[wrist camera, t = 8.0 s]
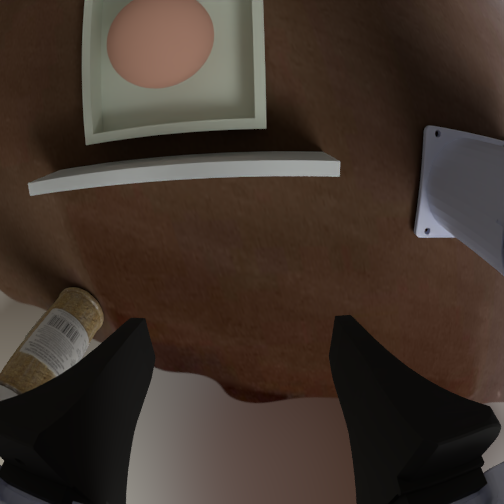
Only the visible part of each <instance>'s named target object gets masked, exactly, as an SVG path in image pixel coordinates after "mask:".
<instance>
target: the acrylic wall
mask: <svg viewBox="0 0 504 504" xmlns="http://www.w3.org/2000/svg"><path fill="white" fill-rule="evenodd" d="M252 176H335V177H340V161H339V160H337V159H335V158H334V157H332V156H330V155H328V154H326V153H324V152H304V151H264V152H227V153H207V154H191V155H177V156H165V157H154V158H144V159H134V160H126V161H117V162H109V163H102V164H95V165H88V166H81V167H75V168H69V169H63V170H59V171H56V172H54V173H51V174H49V175H46V176H44V177H42V178H39V179H37V180H35V181H32V182H30V183H28V187H29V192H30V196H32V195H39V194H45V193H52V192H59V191H67V190H74V189H82V188H91V187H100V186H109V185H119V184H129V183H141V182H153V181H166V180H181V179H199V178H220V177H252Z"/></svg>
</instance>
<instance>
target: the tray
mask: <svg viewBox="0 0 504 504" xmlns="http://www.w3.org/2000/svg"><path fill="white" fill-rule="evenodd" d="M131 1H133V0H85V3H84V16H83V34H82V97H83V116H84V130H85V142H86V145H91V144H96V143H102V142H109V141H115V140H122V139H130V138H137V137H145V136H154V135H164V134H174V133H185V132H198V131H214V130H236V129H266V83H265V46H264V15H263V0H197V1H198V2H199V3H200V4H201V5H202V6H203V7H204V8H205V9H206V11H207V12H208V14H209V15H210V18H211V20H212V23H213V27H214V42H213V47H212V50H211V53H210V55H209V57H208V59H207V60H206V62H205V63H204V65H203V66H202V67H201V68H200V69H199V70H198V71H197V72H196V73H195V74H194V75H193V76H191V77H190V78H188V79H187V80H185V81H183V82H181V83H179V84H176V85H174V86H170V87H166V88H157V89H155V88H144V87H140V86H137V85H134V84H132V83H130V82H128V81H126V80H125V79H123V78H122V77H121V76H120V75H119V74H118V73H117V72H116V71H115V69H114V68H113V66H112V64H111V62H110V60H109V57H108V53H107V36H108V32H109V29H110V26H111V24H112V22H113V20H114V19H115V17H116V16H117V14H118V13H119V12H120V11H121V10H122V9H123V8H124V7H125V6H126V5H127V4H129V3H130V2H131Z"/></svg>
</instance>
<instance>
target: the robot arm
mask: <svg viewBox="0 0 504 504" xmlns="http://www.w3.org/2000/svg"><path fill="white" fill-rule="evenodd" d="M436 130H437V131H438V136H437V137H436V136H435V131H436ZM503 145H504V141H502V140H498V139H494V138H490V137H486V136H482V135H477V134H473V133H468V132H463V131H458V130H453V129H448V128H443V127H437V126H431V125H428V126H426V127H425V129H424V136H423V153H422V166H421V177H420V187H419V196H418V204H417V212H416V219H415V226H414V233H415V235H416V236H418V237H420V238H432V237H456V238H457V239H459V240H460V241H461V242H463V243H464V244H465V245H467V246H468V247H469V248H470V249H472V250H473V251H474V252H475V253H477V254H478V255H479V256H480V257H482V258H483V259H484V260H485V261H487V262H488V263H489V264H490V265H491V266H493V267H494V268H495V269H496V270H497V271H499V272H500V273H501V274H502V275H503V276H504V147H503ZM426 228H428V230H427V232H425V233H424V231H425V229H426ZM329 360H330V366H331V372H332V377H333V381H334V384H335V388H336V391H337V394H338V398H339V401H340V404H341V407H342V410H343V414H344V417H345V421H346V424H347V428H348V432H349V438H350V445H351V451H352V458H353V466H354V475H355V486H356V501H357V504H504V462H502V463H500V464H498V465H496V466H494V467H492V468H490V469H489V470H487V471H486V472H484V473H483V472H482V469H481V467H482V466H483V465H484V461H483V458H482V454H483V453H484V452H485V451H486V450H487V449H488V448H489V447H490V445H491V444H492V443H493V442H494V440H495V439H496V438H497V437H498V435H499V432H500V430H501V425H500V423H499V421H498V419H497V418H496V416H495V414H494V412H493V411H492V409H491V407H490V406H487V405H484V404H481V403H478V402H475V401H471V400H468V399H466V398H463V397H461V396H459V395H456V394H454V393H452V392H450V391H447V390H445V389H443V388H441V387H440V386H438V385H436V384H434V383H432V382H431V381H429V380H427V379H425V378H424V377H422V376H421V375H419V374H418V373H416V372H415V371H413V370H412V369H410V368H409V367H407V366H406V365H405V364H403V363H402V362H401V361H400V360H398V359H397V358H396V357H395V356H393V355H392V354H391V353H390V352H389V351H388V350H386V349H385V348H384V347H383V346H382V345H381V344H380V343H379V342H378V341H377V340H376V339H374V338H373V337H372V336H371V335H370V334H369V333H368V332H367V331H366V330H365V329H364V328H363V327H362V326H361V325H360V324H359V323H358V322H357V321H356V320H355V319H354V318H353V317H352V316H351V315H343V316H335V321H334V328H333V334H332V340H331V346H330V352H329ZM154 363H155V354H154V350H153V347H152V343H151V339H150V336H149V332H148V328H147V324H146V320H145V318H130V319H129V320H128V321H126V322H125V323H124V324H123V325H122V326H121V327H119V328H118V329H117V330H116V331H115V332H114V333H113V334H112V335H110V336H109V337H108V338H107V339H106V340H105V341H104V342H102V343H101V344H100V345H99V346H98V347H97V348H95V349H94V350H93V351H92V352H90V353H89V354H88V355H87V356H86V357H84V358H83V359H82V360H80V361H79V362H78V363H76V364H75V365H74V366H72V367H71V368H69V369H68V370H66V371H65V372H63V373H62V374H60V375H58V376H57V377H55V378H53V379H51V380H49V381H47V382H46V383H44V384H42V385H40V386H38V387H36V388H34V389H32V390H29V391H27V392H25V393H22V394H20V395H17V396H14V397H11V398H8V399H5V400H2V401H0V457H1V458H2V459H3V460H4V463H3V465H2V466H1V465H0V504H126V487H127V476H128V467H129V460H130V453H131V447H132V441H133V435H134V431H135V427H136V423H137V420H138V417H139V414H140V411H141V408H142V405H143V402H144V399H145V397H146V394H147V391H148V388H149V385H150V381H151V378H152V373H153V368H154Z"/></svg>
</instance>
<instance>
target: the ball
mask: <svg viewBox="0 0 504 504" xmlns="http://www.w3.org/2000/svg"><path fill="white" fill-rule="evenodd" d="M213 42H214V27H213V23H212V20H211V18H210V15H209V14H208V12H207V11H206V9H205V8H204V7H203V6H202V5H201V4H200V3H199V2H198V1H197V0H133V1H131V2H130V3H129V4H127V5H126V6H125V7H124V8H123V9H122V10H121V11H120V12H119V13H118V14H117V16H116V17H115V19H114V20H113V22H112V24H111V26H110V29H109V32H108V36H107V53H108V57H109V60H110V62H111V64H112V66H113V68H114V69H115V71H116V72H117V73H118V74H119V75H120V76H121V77H122V78H123V79H125V80H126V81H128V82H130V83H132V84H134V85H137V86H140V87H144V88H155V89H157V88H166V87H170V86H174V85H176V84H179V83H181V82H183V81H185V80H187V79H188V78H190V77H191V76H193V75H194V74H195V73H196V72H197V71H198V70H199V69H200V68H201V67H202V66H203V65H204V63H205V62H206V60H207V59H208V57H209V55H210V53H211V50H212V47H213Z"/></svg>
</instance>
